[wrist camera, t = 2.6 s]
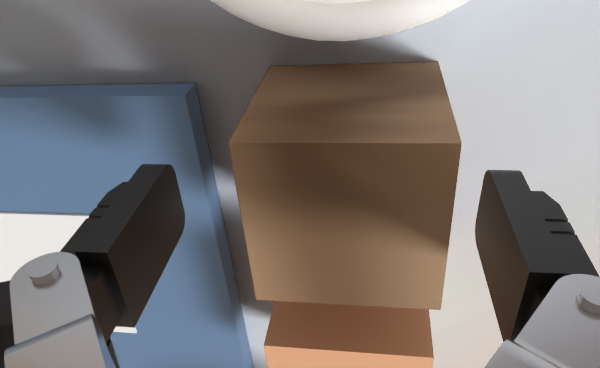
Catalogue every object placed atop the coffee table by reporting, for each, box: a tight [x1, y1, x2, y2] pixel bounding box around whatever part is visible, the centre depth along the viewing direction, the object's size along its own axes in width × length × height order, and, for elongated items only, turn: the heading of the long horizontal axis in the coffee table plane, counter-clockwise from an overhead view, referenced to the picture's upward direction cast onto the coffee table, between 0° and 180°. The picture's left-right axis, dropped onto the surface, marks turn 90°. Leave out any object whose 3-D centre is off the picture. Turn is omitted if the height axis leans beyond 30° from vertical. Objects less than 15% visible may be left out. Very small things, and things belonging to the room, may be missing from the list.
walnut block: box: [228, 62, 461, 310], centre depth 14 cm, size 5×5×5 cm
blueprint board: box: [0, 83, 254, 368], centre depth 21 cm, size 16×16×1 cm
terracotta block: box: [264, 301, 434, 368], centre depth 18 cm, size 5×5×5 cm
